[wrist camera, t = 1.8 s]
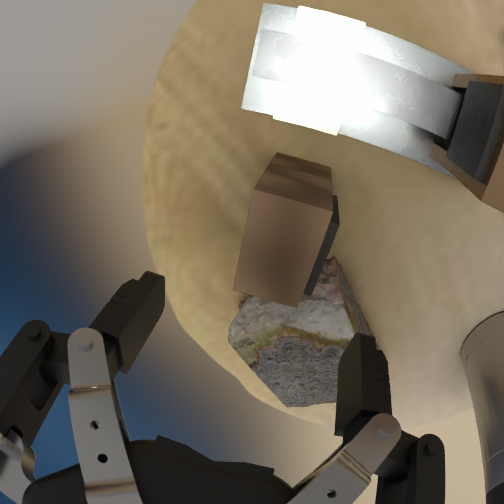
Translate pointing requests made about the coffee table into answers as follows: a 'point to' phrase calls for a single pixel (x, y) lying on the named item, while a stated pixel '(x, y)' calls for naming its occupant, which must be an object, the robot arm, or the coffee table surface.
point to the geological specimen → (300, 339)
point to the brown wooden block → (287, 231)
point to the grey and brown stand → (379, 94)
